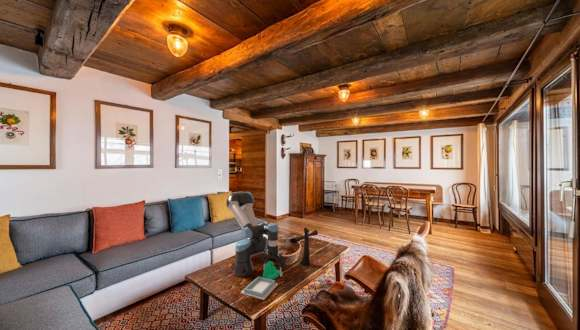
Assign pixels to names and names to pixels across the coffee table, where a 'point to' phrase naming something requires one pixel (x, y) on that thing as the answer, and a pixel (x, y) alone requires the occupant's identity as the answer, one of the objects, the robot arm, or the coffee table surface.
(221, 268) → the coffee table surface
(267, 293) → the dock
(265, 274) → the camera mount
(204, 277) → the coffee table surface
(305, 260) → the flared trumpet-armed statue
